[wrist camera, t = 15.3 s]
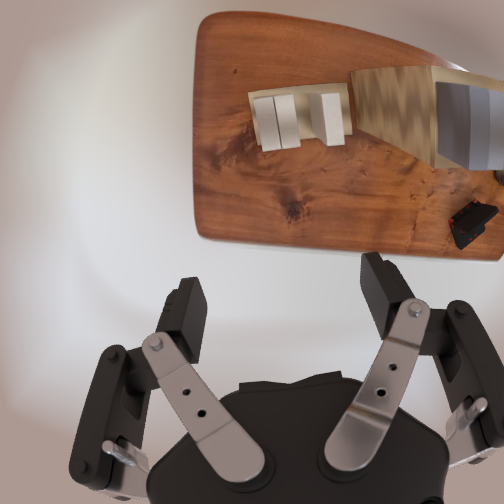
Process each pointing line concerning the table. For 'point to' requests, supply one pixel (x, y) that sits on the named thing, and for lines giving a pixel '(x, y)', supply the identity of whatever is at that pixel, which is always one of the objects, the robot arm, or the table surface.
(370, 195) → the table surface
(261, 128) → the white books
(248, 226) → the table surface
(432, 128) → the wooden stand
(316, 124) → the white book
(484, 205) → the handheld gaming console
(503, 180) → the beverage can
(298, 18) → the table surface
